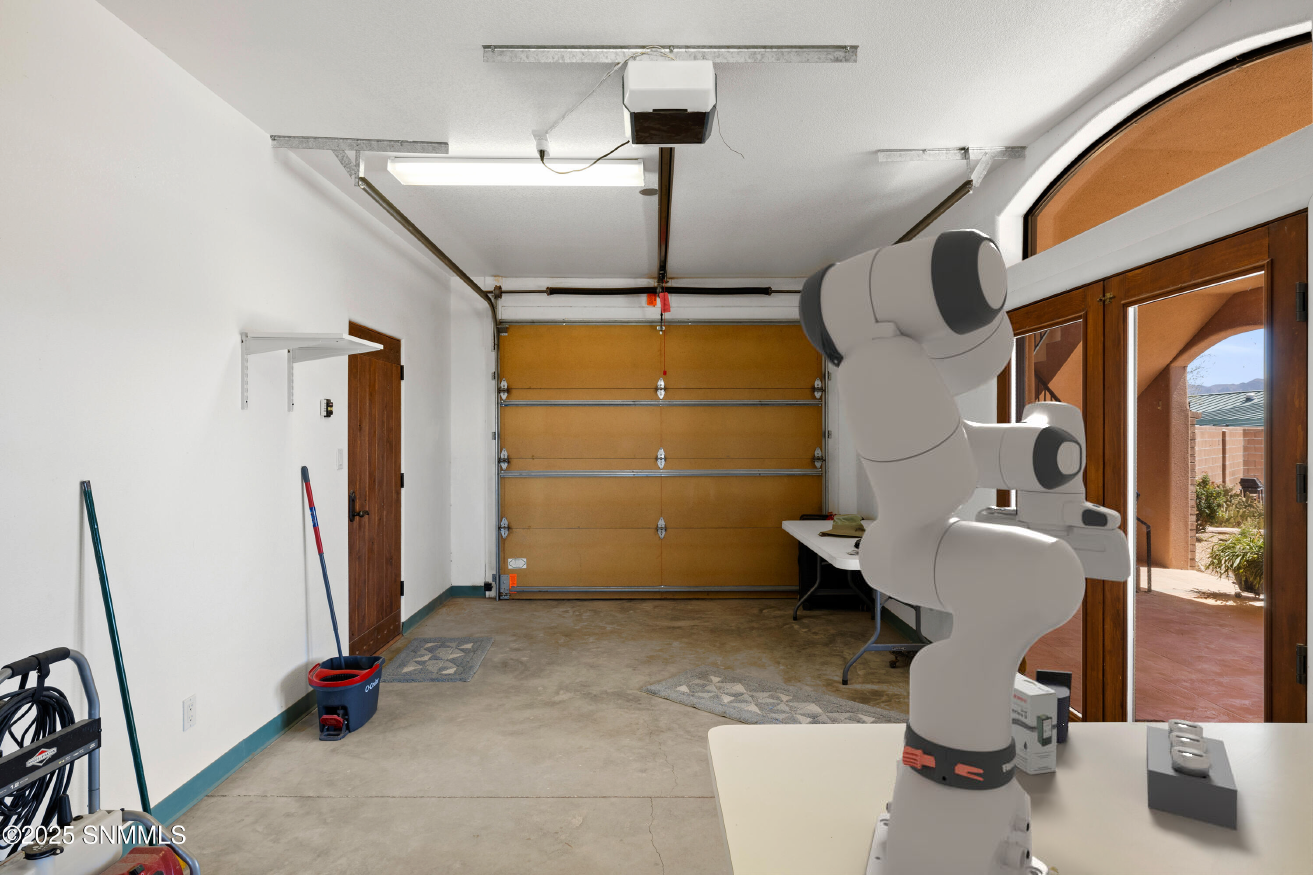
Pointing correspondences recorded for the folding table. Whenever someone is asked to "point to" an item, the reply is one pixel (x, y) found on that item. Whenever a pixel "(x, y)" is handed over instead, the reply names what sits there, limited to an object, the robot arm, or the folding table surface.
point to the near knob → (1190, 761)
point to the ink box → (1034, 725)
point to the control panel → (1191, 783)
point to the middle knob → (1187, 742)
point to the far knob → (1184, 727)
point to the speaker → (1058, 697)
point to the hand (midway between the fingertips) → (1048, 602)
